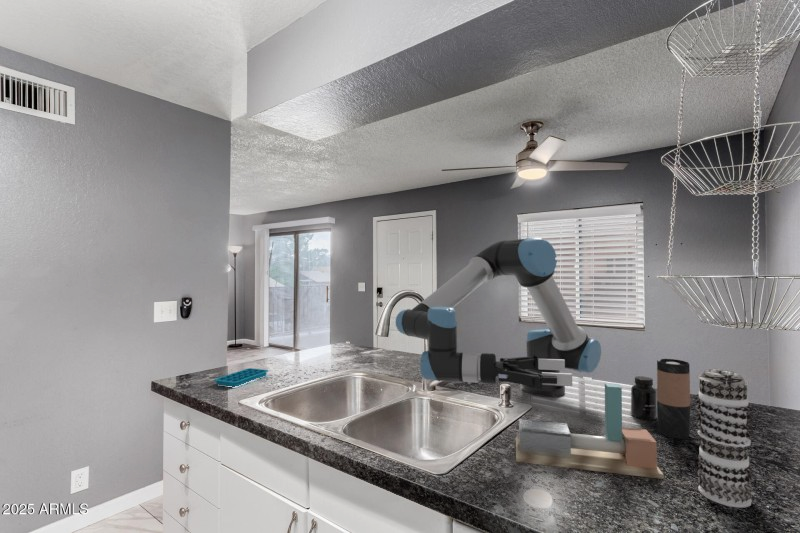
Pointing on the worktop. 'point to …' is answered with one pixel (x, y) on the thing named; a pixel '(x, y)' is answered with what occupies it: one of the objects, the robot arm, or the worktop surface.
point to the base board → (590, 462)
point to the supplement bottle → (644, 399)
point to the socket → (639, 448)
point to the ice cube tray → (241, 377)
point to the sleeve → (544, 438)
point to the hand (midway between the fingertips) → (568, 371)
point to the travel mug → (673, 398)
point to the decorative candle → (724, 438)
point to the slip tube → (606, 426)
